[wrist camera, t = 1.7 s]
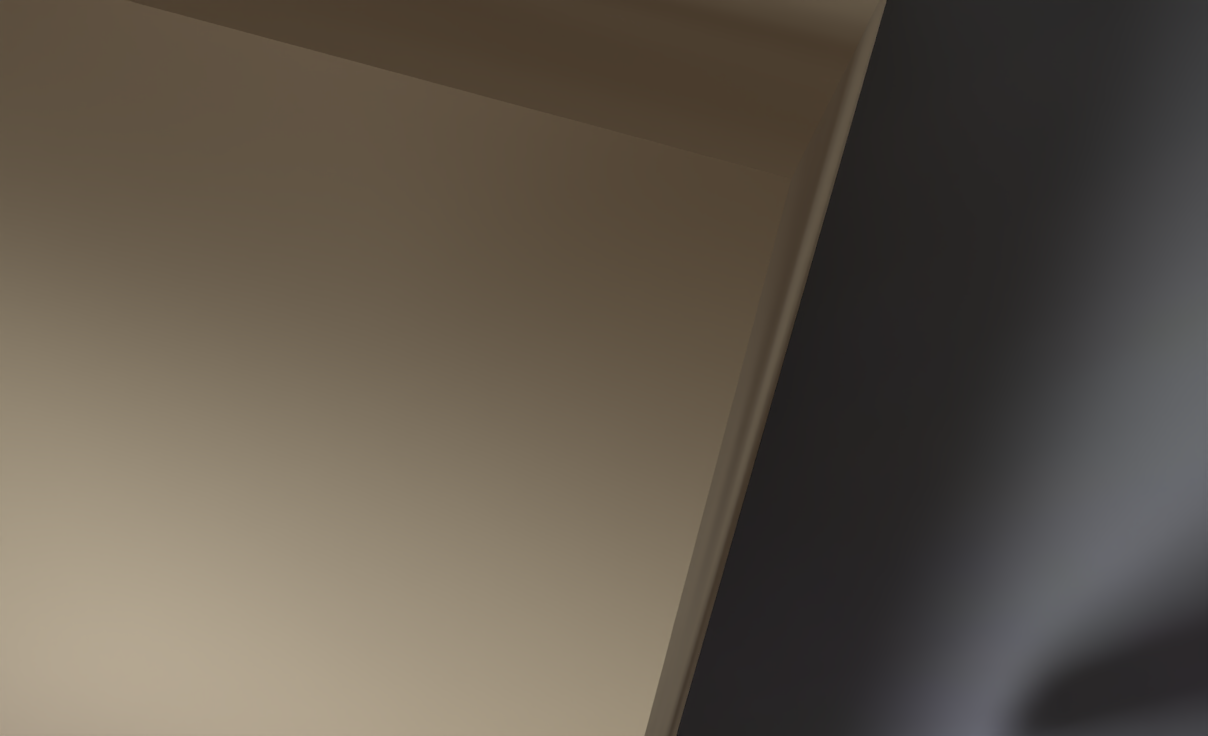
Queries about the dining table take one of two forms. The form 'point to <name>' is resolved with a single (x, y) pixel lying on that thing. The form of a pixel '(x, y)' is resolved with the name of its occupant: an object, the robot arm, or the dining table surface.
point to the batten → (393, 351)
